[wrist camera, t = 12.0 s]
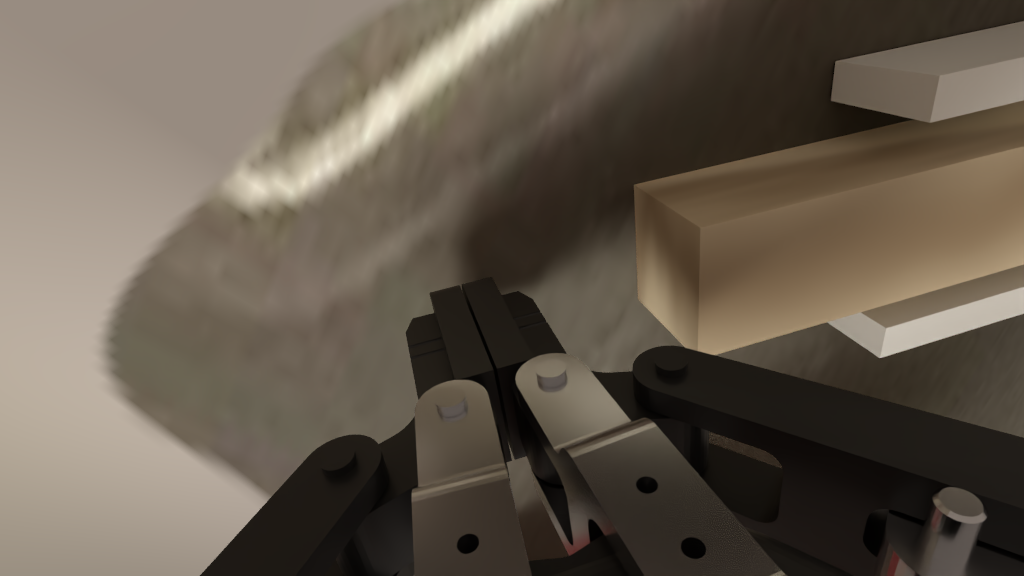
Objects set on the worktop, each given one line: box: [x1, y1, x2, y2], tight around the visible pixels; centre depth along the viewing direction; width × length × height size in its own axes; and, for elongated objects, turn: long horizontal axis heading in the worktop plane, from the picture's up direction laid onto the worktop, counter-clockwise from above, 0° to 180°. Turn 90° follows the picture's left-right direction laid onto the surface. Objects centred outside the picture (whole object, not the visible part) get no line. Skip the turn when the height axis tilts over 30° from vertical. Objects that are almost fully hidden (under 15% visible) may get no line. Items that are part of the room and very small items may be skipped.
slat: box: [634, 100, 1024, 355], centre depth 16 cm, size 4×14×4 cm, turn 98°
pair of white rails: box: [827, 21, 1024, 358], centre depth 16 cm, size 8×6×3 cm
